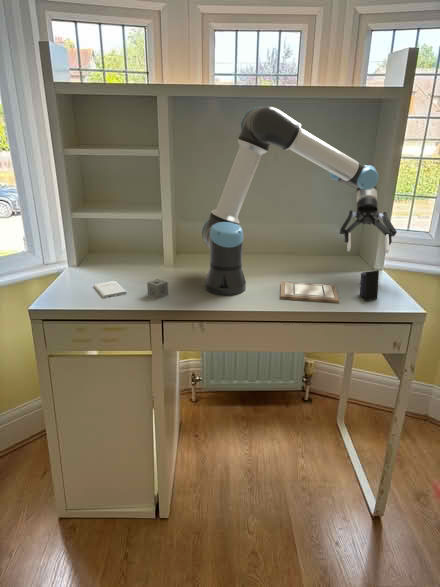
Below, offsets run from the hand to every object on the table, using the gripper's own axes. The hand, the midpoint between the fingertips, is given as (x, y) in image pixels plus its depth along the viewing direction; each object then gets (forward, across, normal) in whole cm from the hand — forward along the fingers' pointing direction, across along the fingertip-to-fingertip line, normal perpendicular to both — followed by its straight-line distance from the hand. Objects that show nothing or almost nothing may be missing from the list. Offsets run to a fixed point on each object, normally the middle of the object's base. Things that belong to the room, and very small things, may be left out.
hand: (368, 250), depth 154 cm
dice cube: (+26, +74, +6) cm, 79 cm away
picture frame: (+17, +21, -2) cm, 27 cm away
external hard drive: (+25, +92, +5) cm, 96 cm away
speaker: (+17, 0, -3) cm, 17 cm away
